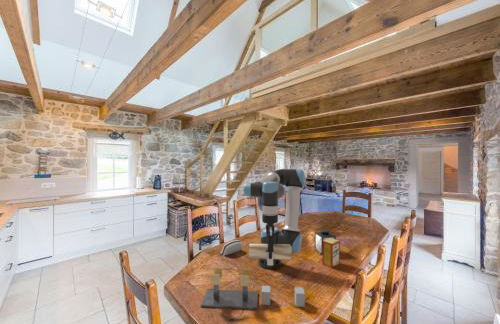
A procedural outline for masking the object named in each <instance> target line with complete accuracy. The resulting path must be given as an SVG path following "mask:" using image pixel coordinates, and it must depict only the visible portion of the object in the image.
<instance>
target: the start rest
mask: <svg viewBox="0 0 500 324" xmlns="http://www.w3.org/2000/svg"><path fill="white" fill-rule="evenodd" d="M294 303H295V306H296V307H297V308H299V307H300V308H302V307H303V308H305V307H306V292H305V290H304V287H299V286H297V287H294ZM261 305H262V306H271V286H270V285H261Z"/></svg>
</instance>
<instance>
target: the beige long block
mask: <svg viewBox="0 0 500 324" xmlns="http://www.w3.org/2000/svg"><path fill="white" fill-rule="evenodd" d="M266 250H268V244H261V243H249V244H248V259H253V260H255V259H257V260H258V259H267V252H266ZM273 250H274V252H273V259H281V260H292V257H293V256H292V255H293V253H292V248H291V245H290V244H274V245H273Z"/></svg>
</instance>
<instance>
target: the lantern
mask: <svg viewBox="0 0 500 324" xmlns="http://www.w3.org/2000/svg"><path fill="white" fill-rule="evenodd" d="M325 217H326V218H325ZM322 218H323V221H325V220H324V219H326V220H328V217H327V216H326V214H324V216H323V217H322ZM330 238H333V239H336V240H337V238H336V235H334V234H332V233H330V230H329V229H328V228H321V229H320V230H319V231H317V232H316V231H315V232H314V250H315V249H316V250H315V251H317V250H318V251H319V252H320V253H321V254H320V253H319V252H318V251H317V252H318V253H319V254H320V255H322V256H323V241H324V240H327V239H330Z"/></svg>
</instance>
